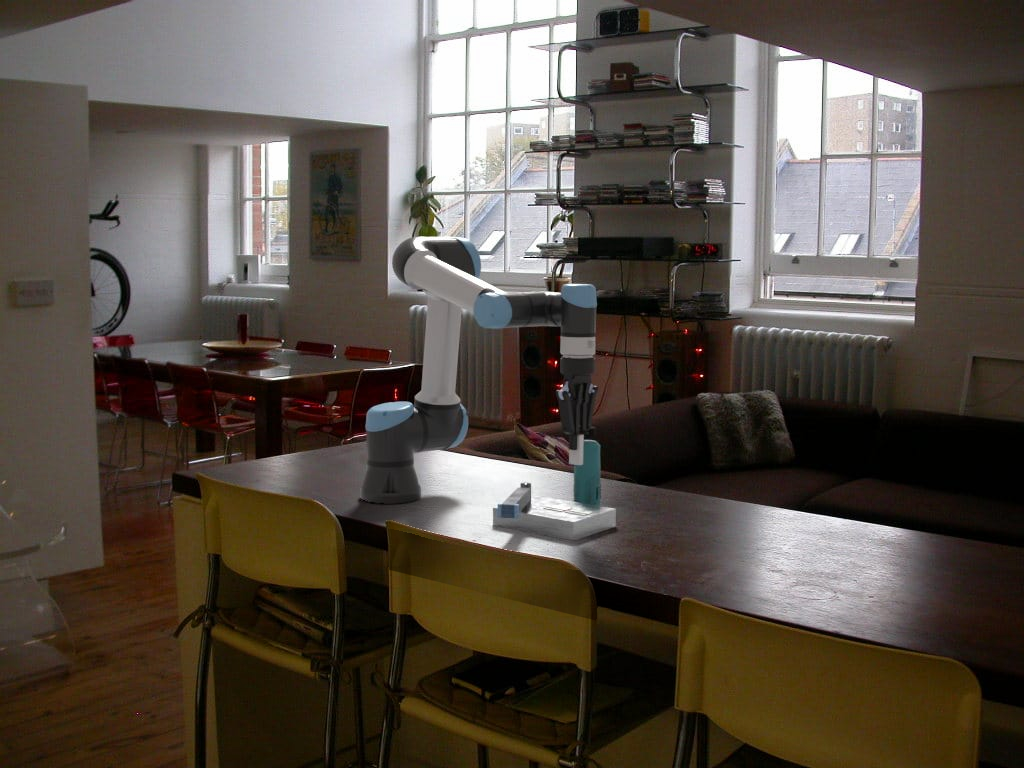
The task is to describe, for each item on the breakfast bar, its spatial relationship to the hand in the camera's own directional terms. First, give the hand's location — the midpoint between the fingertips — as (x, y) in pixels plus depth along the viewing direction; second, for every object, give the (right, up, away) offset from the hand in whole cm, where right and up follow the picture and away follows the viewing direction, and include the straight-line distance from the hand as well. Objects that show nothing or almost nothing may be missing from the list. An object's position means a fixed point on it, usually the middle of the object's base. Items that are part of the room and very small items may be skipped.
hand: (576, 463), depth 239 cm
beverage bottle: (+4, -13, +20) cm, 24 cm away
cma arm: (-13, -10, -1) cm, 16 cm away
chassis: (-5, -14, +5) cm, 16 cm away
